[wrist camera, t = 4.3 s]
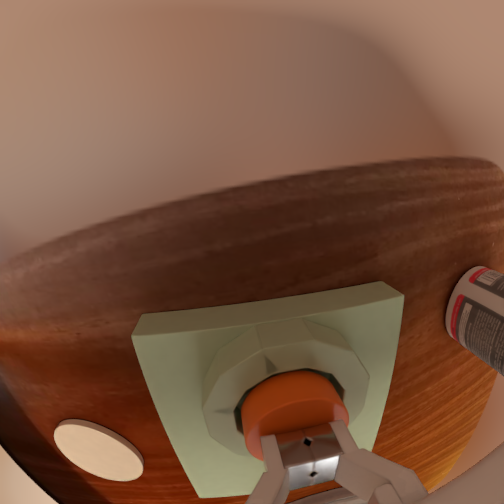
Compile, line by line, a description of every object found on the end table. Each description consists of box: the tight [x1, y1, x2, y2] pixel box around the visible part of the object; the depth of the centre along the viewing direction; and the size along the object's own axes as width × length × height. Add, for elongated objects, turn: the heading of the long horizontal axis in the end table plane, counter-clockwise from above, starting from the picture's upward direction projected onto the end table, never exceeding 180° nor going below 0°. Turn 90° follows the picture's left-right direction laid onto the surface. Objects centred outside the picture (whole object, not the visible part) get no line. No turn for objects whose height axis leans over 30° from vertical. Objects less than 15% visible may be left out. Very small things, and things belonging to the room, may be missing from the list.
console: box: [131, 281, 404, 498], centre depth 13 cm, size 14×12×4 cm
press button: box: [241, 371, 349, 461], centre depth 10 cm, size 4×4×2 cm
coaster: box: [54, 419, 144, 481], centre depth 14 cm, size 7×7×1 cm
